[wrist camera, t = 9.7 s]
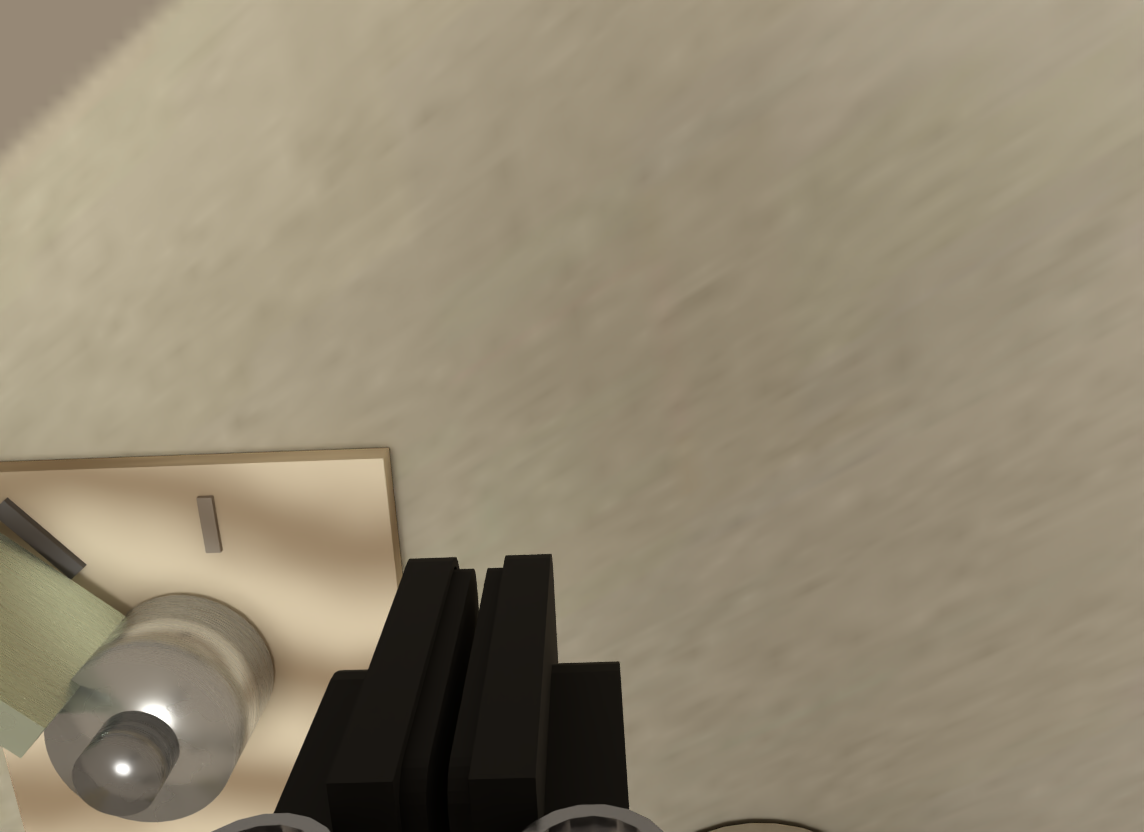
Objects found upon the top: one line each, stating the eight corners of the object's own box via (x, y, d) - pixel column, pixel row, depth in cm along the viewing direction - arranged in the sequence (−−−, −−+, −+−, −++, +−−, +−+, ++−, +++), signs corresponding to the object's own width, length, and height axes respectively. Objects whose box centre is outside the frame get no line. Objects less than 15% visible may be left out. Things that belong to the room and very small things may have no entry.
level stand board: (428, 814, 45) (423, 838, 44) (42, 825, 46) (24, 849, 44) (388, 447, 40) (381, 461, 38) (-52, 463, 40) (-76, 477, 39)
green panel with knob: (306, 661, 41) (249, 781, 34) (213, 767, 43) (140, 903, 36) (-69, 403, 38) (-220, 476, 31) (-153, 530, 39) (-315, 628, 32)
